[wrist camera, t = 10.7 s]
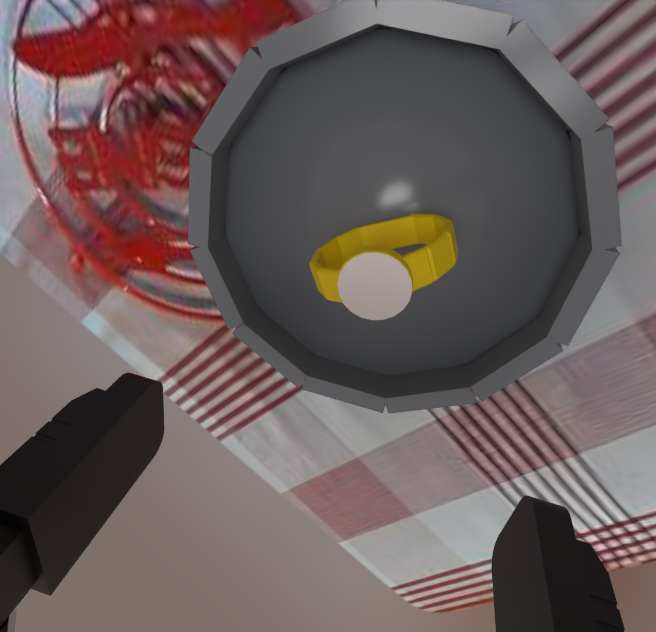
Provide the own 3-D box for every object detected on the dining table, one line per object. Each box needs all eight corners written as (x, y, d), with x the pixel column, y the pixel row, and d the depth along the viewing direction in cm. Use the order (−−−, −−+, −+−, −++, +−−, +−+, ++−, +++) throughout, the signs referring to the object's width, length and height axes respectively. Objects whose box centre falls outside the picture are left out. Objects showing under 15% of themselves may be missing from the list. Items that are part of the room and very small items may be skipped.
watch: (444, 188, 20) (456, 230, 15) (455, 246, 22) (470, 303, 16) (317, 222, 22) (289, 270, 17) (333, 274, 23) (312, 334, 18)
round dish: (693, 57, 17) (729, 58, 14) (504, 417, 26) (509, 449, 24) (222, -38, 18) (193, -50, 16) (206, 332, 28) (186, 355, 26)
